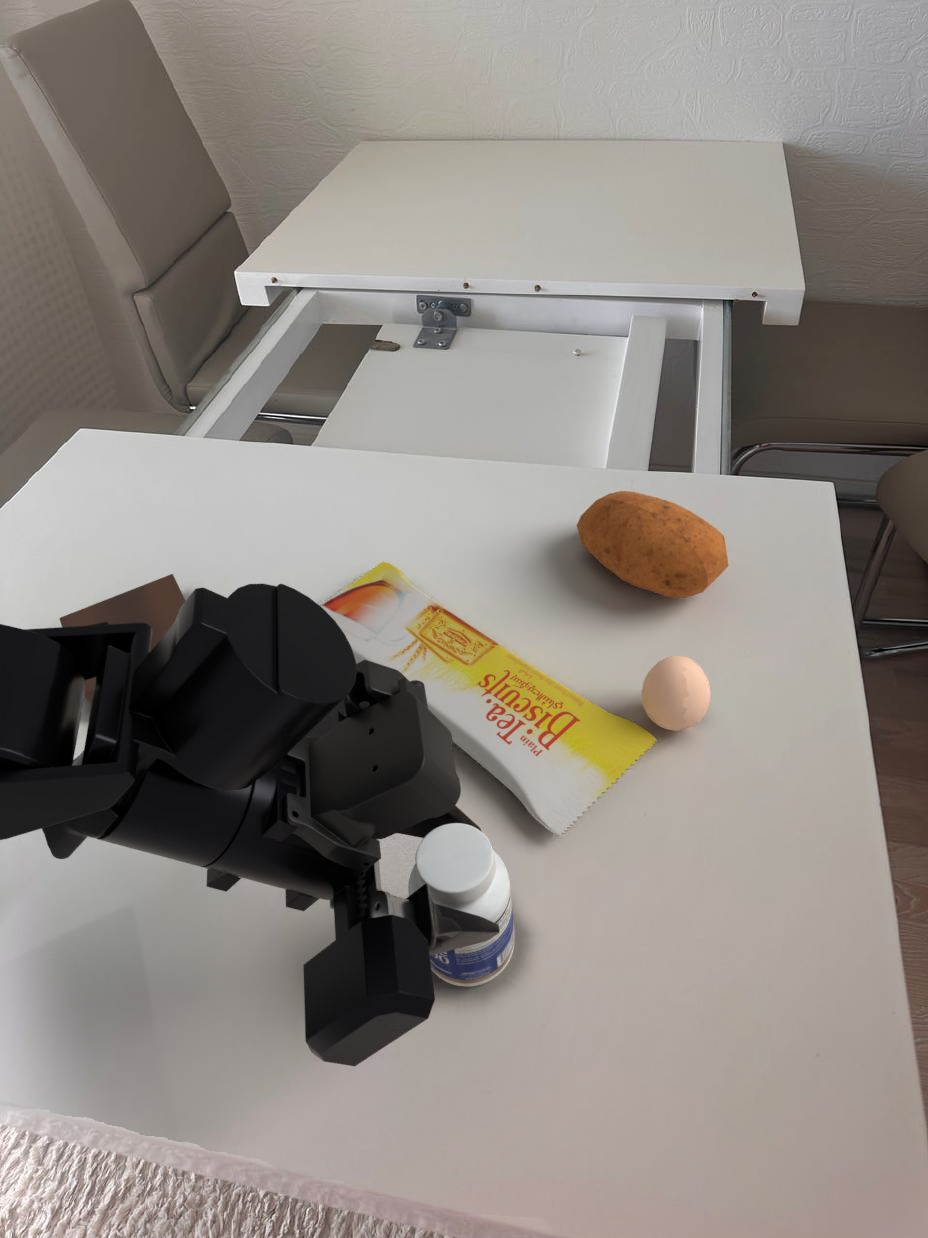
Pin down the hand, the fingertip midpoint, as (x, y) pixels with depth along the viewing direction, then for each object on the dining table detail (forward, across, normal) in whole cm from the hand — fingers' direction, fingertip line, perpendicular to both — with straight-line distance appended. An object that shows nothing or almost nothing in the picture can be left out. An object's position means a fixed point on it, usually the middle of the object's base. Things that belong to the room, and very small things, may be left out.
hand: (485, 883), depth 50 cm
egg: (+15, +13, -6) cm, 21 cm away
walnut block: (-11, +27, +21) cm, 36 cm away
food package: (+5, +19, +4) cm, 20 cm away
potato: (+17, +28, -7) cm, 34 cm away
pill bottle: (+4, 0, +6) cm, 7 cm away
